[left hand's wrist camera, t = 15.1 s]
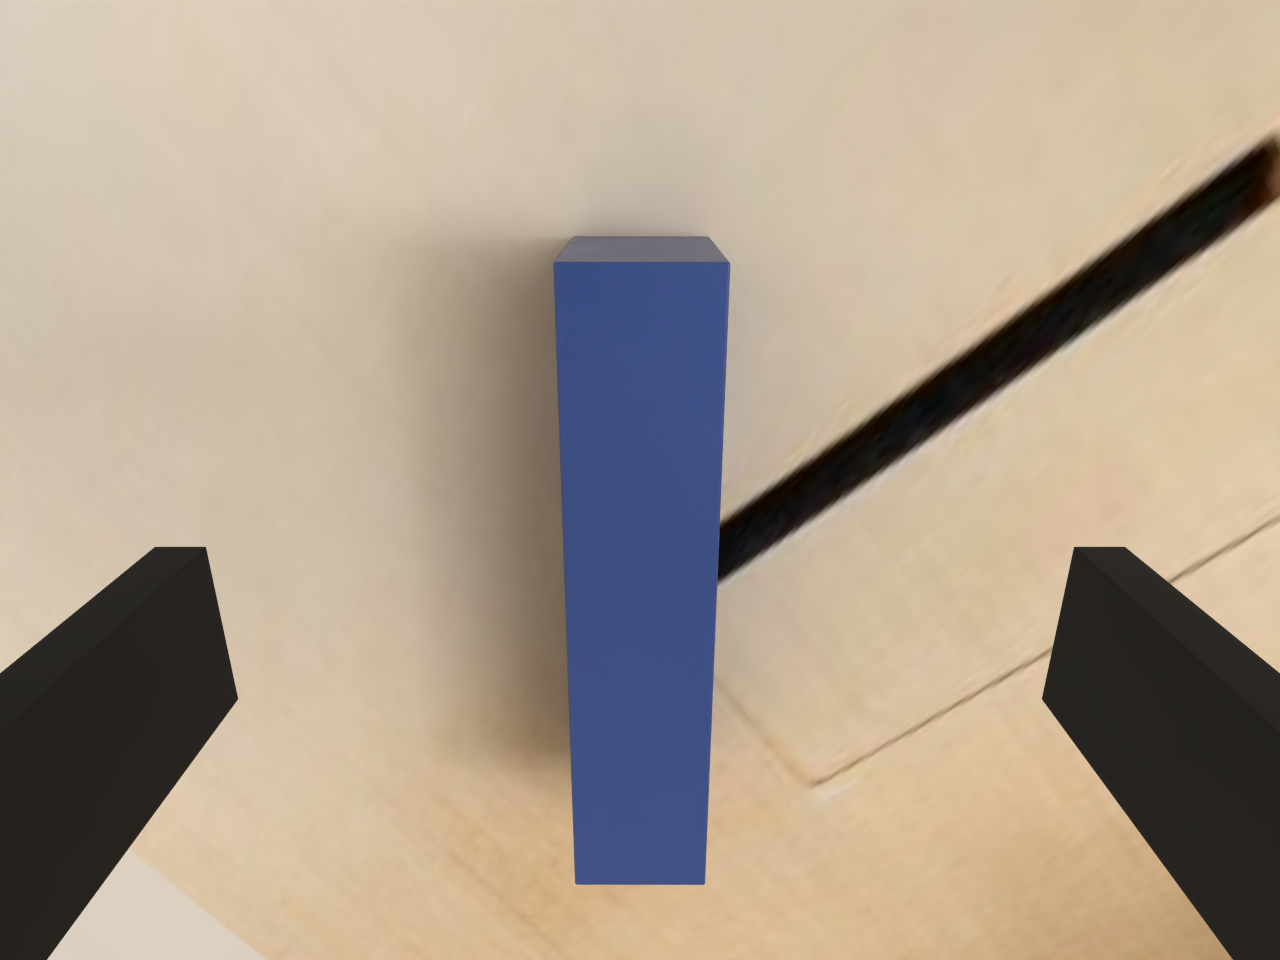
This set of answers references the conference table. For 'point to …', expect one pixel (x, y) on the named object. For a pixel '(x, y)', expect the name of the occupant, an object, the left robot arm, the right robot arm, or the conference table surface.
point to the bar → (641, 545)
